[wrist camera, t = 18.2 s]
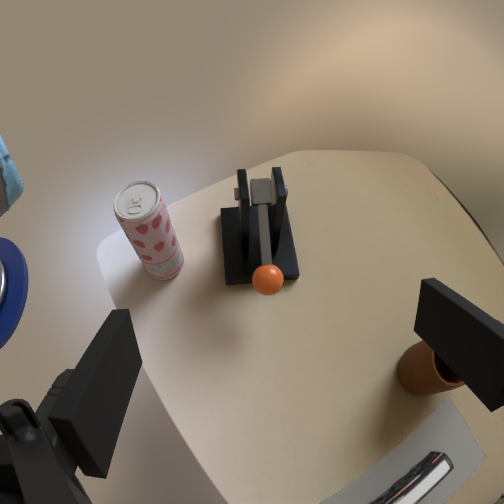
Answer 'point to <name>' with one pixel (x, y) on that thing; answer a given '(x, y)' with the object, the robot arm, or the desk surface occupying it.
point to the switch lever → (264, 240)
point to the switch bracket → (257, 233)
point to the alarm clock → (501, 500)
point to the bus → (420, 464)
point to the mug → (426, 371)
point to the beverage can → (149, 228)
